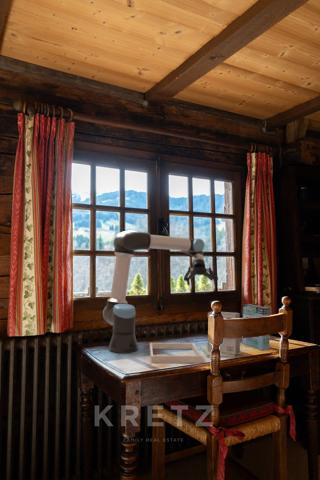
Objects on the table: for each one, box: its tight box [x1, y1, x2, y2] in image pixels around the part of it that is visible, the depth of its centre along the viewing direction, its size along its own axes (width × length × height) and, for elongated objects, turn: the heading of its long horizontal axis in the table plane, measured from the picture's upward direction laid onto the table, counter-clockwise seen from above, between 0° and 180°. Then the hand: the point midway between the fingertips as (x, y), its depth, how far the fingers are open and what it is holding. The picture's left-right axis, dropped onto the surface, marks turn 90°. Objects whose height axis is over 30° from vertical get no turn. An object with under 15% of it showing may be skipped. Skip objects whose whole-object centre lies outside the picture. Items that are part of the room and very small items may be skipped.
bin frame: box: [149, 342, 203, 364], centre depth 183 cm, size 24×28×3 cm
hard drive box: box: [207, 311, 241, 355], centre depth 188 cm, size 16×8×20 cm, turn 61°
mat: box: [200, 345, 236, 358], centre depth 190 cm, size 14×20×1 cm
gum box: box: [242, 303, 271, 351], centre depth 205 cm, size 20×5×23 cm, turn 20°
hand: (202, 289), depth 208 cm, fingers open, 13 cm apart
